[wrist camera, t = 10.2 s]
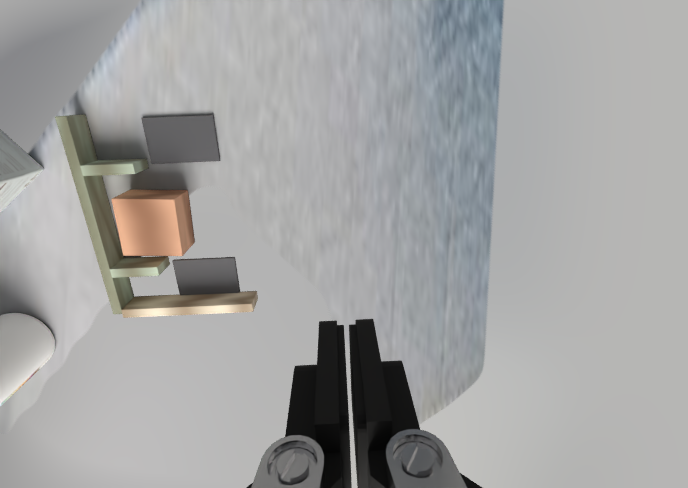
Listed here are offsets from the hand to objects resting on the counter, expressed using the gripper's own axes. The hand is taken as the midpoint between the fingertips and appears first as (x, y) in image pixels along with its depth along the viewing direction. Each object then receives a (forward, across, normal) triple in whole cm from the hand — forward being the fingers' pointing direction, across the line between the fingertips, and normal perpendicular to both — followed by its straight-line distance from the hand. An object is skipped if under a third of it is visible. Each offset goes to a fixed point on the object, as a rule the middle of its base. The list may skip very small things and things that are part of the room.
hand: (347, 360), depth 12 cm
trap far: (+31, +16, +12) cm, 37 cm away
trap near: (+31, +16, -4) cm, 35 cm away
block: (+31, +19, +4) cm, 37 cm away
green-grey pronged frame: (+31, +18, +4) cm, 36 cm away
